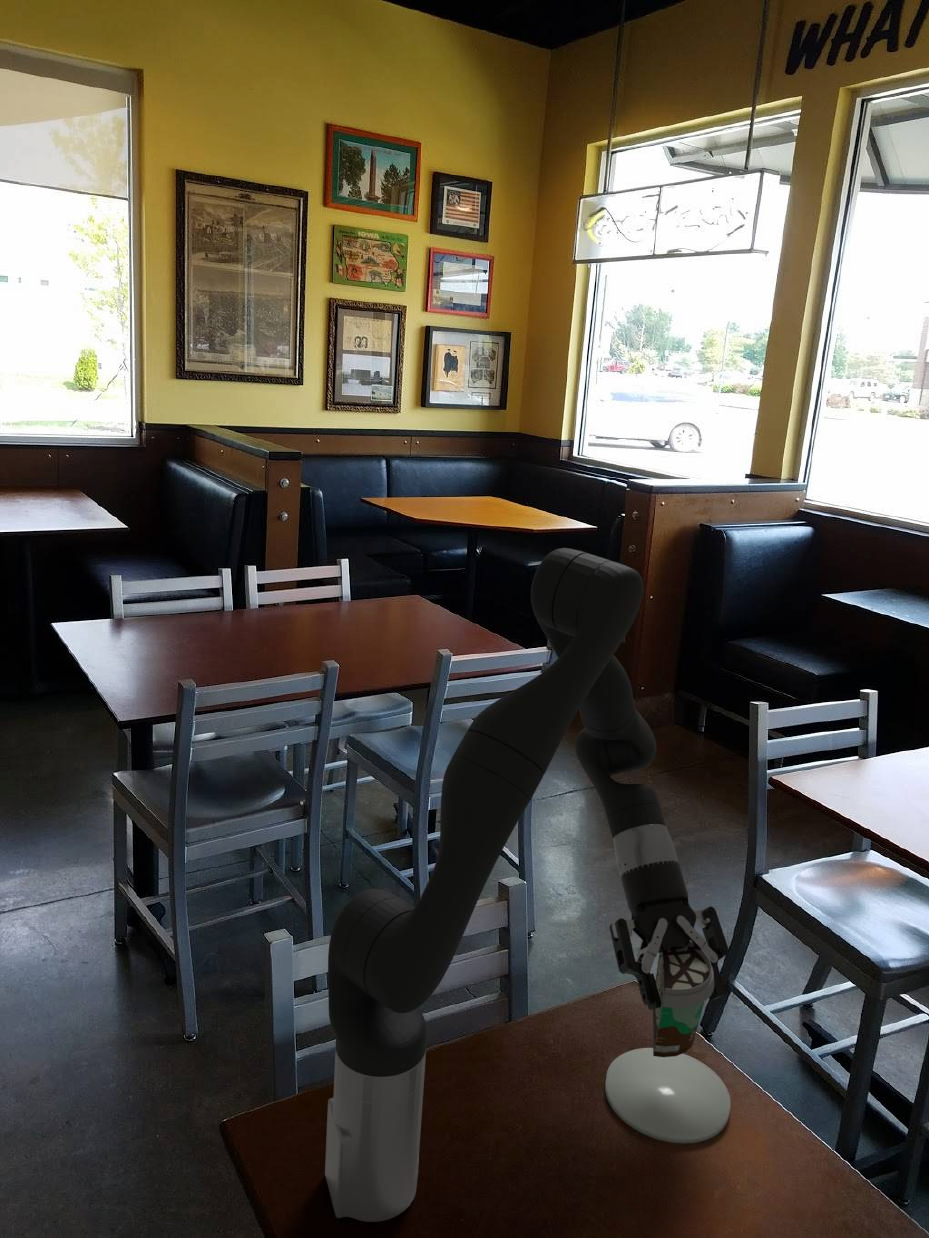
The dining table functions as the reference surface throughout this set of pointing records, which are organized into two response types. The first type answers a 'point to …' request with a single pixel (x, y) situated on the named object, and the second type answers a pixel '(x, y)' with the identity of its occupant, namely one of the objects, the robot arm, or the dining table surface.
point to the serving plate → (667, 1096)
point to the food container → (680, 999)
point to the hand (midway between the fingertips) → (686, 1003)
